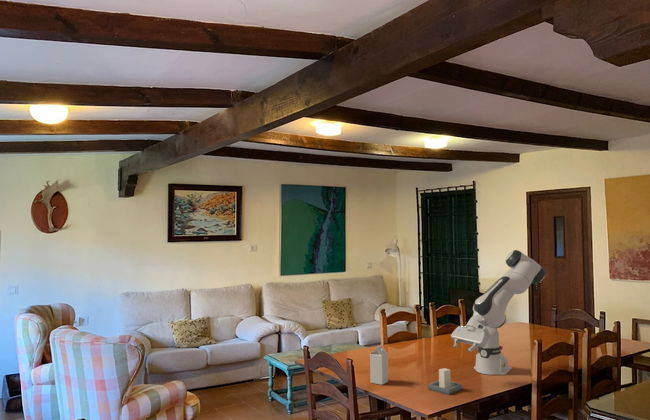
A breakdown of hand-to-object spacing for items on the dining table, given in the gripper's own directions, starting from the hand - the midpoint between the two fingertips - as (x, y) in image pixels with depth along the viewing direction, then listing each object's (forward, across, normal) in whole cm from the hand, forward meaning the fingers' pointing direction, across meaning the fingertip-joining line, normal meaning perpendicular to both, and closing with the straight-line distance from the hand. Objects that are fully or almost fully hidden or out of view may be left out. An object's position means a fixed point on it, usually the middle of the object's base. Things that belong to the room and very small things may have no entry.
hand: (462, 349), depth 250 cm
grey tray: (+20, -3, +7) cm, 22 cm away
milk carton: (+35, -31, -6) cm, 47 cm away
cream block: (+20, -3, +6) cm, 21 cm away
